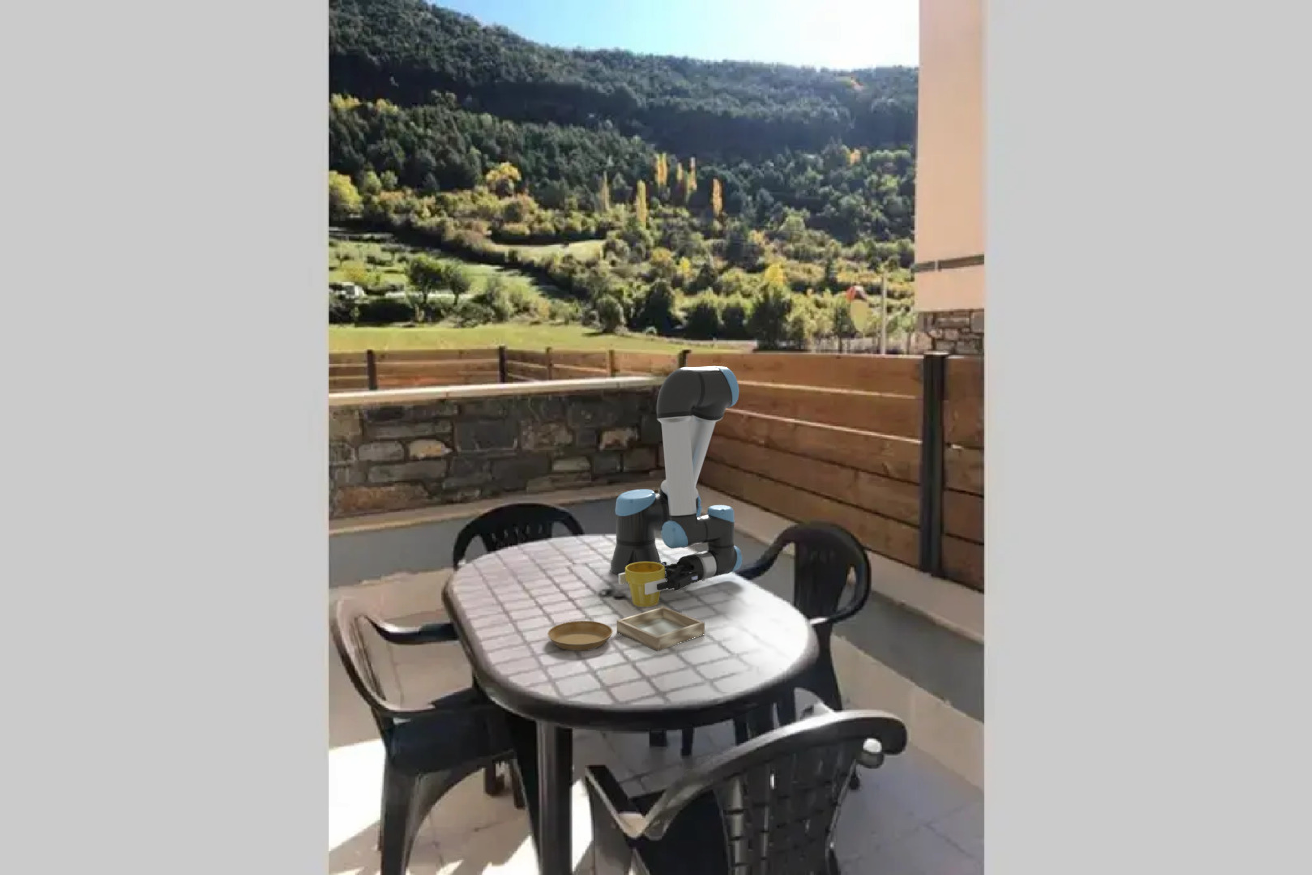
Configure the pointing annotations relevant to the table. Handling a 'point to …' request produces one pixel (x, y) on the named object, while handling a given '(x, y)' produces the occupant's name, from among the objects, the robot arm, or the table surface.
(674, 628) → the tray
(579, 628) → the plant saucer
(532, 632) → the table surface
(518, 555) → the table surface
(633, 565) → the plant pot
